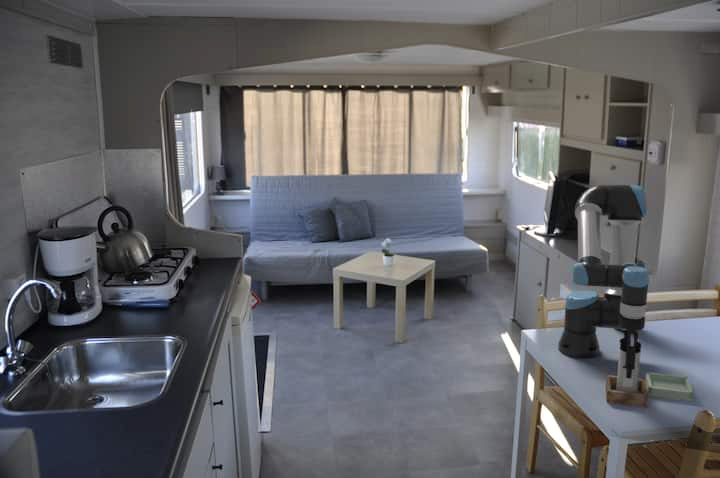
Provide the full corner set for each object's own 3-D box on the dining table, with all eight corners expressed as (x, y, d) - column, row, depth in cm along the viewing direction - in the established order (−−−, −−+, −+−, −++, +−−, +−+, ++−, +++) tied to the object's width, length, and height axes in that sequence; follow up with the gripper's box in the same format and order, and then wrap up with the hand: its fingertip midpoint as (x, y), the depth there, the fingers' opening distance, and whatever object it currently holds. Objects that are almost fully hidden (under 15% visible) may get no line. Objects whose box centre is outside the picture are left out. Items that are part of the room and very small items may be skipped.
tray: (648, 395, 199) (649, 387, 199) (644, 379, 210) (645, 371, 210) (692, 401, 195) (693, 393, 194) (686, 384, 206) (687, 376, 205)
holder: (606, 402, 196) (607, 390, 195) (605, 385, 207) (606, 374, 206) (647, 407, 192) (648, 396, 191) (643, 390, 203) (644, 379, 202)
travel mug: (611, 392, 202) (615, 336, 198) (630, 391, 203) (635, 335, 198) (620, 401, 196) (625, 344, 191) (640, 400, 197) (645, 343, 192)
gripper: (648, 327, 183) (641, 396, 188) (642, 306, 200) (637, 370, 206) (621, 324, 185) (615, 393, 191) (618, 304, 203) (613, 367, 208)
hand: (626, 381), depth 198 cm, fingers closed on travel mug, 6 cm apart
